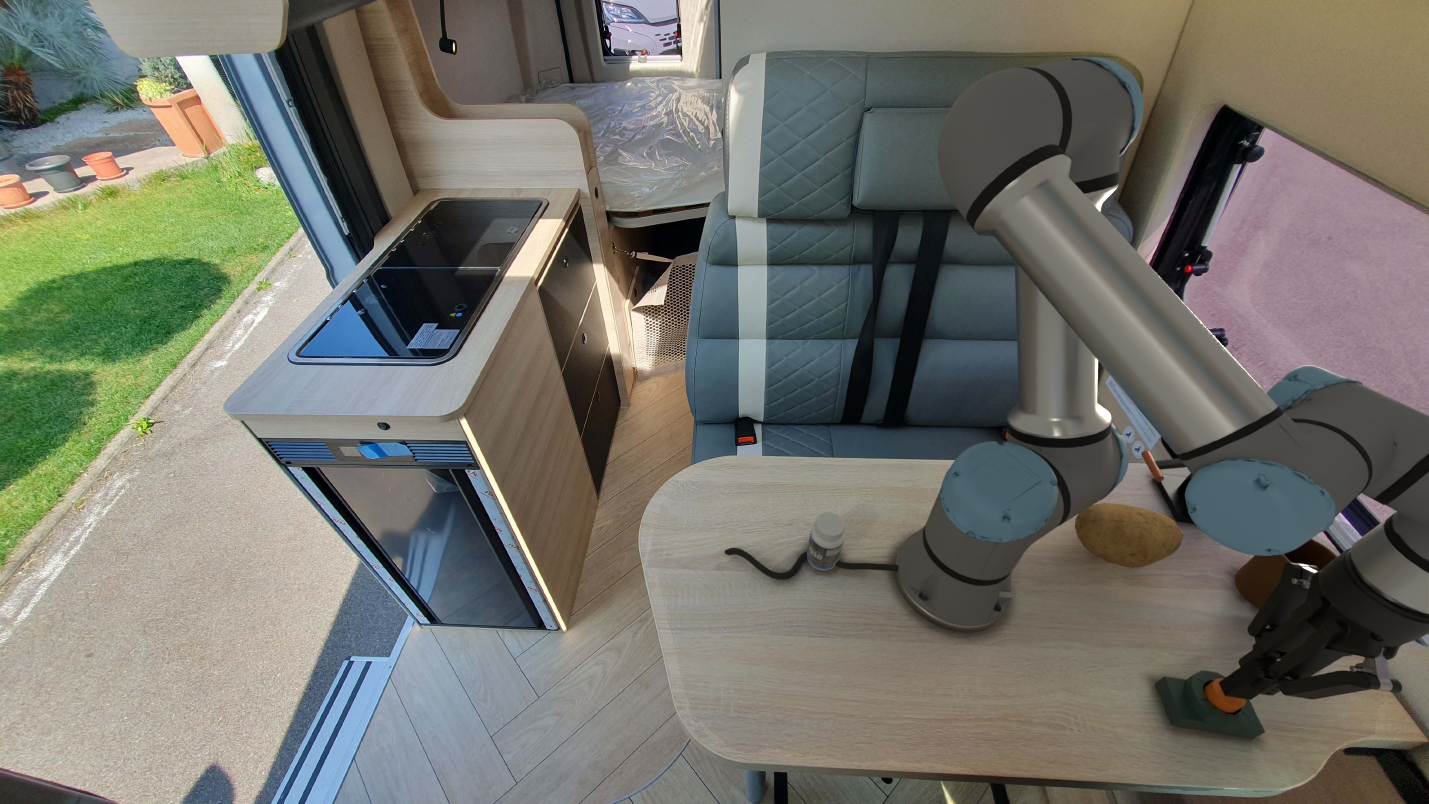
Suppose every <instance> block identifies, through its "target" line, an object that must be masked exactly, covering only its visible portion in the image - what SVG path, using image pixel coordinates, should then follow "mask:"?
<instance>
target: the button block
mask: <svg viewBox="0 0 1429 804" xmlns="http://www.w3.org/2000/svg"><path fill="white" fill-rule="evenodd" d="M1226 677H1227V676H1225V675H1223V674H1221V673H1219V672H1217V671H1211V670H1205V669H1202V670H1199V671H1198V672H1196V673H1193V674H1192V675H1190V676H1189V677H1188V678H1187V679H1186V678H1179V677H1173V676H1166V675H1164V676H1162V677H1161V678H1159V680H1157V681H1156V682H1154V684H1155V687H1156V690H1157V692H1158V695H1159V697H1160V699H1161V702H1162V705H1163V707H1164V710H1165V712H1166V715H1167V717H1168V720H1169V722H1170V724H1171V726H1172V727H1176V728H1183V729H1189V730H1196V731H1202V732H1208V733H1213V734H1221V735H1227V736H1233V737H1240V738H1245V739H1252V740H1254V739H1256V738H1257V737H1260V736H1262V735H1263V734H1265V733H1266V731H1265V729H1264V727H1263V725H1262V722H1261V720H1260V719H1259V717H1258V714H1257V712H1256V711H1255V708H1254V706H1253V703H1252V701H1251V700H1248V699H1246V703H1245V705H1244V706H1243V707H1241V708H1240V709H1238V710H1236V711H1235V712H1233V713H1226V712H1223V711H1221V710H1219V709H1217V708H1216V707H1214V706H1213V705H1212V704H1211V703H1210V702H1209V700H1208V699H1207V697H1206V695H1205V687H1206V686H1207V685H1208V684H1210V683H1211V682H1213V681H1214V680H1216V679H1224V678H1226Z"/></svg>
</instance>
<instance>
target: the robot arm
mask: <svg viewBox="0 0 1429 804" xmlns="http://www.w3.org/2000/svg"><path fill="white" fill-rule="evenodd" d="M1144 107H1145V105H1144V97H1143V92H1142V90H1141V87H1140V84H1139V83H1138V81H1137V79H1136V78H1135V77H1134V75H1133V74H1132V73H1131V72H1130V71H1129V70H1128V69H1127V68H1125V67H1124V66H1123V65H1122V64H1120V63H1119V62H1116V61H1114V60H1111V59H1108V58H1104V57H1087V56H1086V57H1085V56H1073V57H1071V58H1070V57H1069V58H1062V59H1060V60H1055V61H1051V62H1050V61H1049V62H1045V63H1040V64H1035V65H1029V66H1024V67H1012V68H1006V69H1002V70H998V71H995V72H992V73H989V74H987V75H985V76H983V77H981V78H980V79H978V80H977V81H976V82H974V83H973V84H971V85H970V86H968V87H967V89H965V91H964V92H962V93H961V94H960V95H959V96H958V98H957V99H956V100H955V101H954V102H953V104H952V105H951V107H950V109H949V111H948V112H947V114H946V116H945V118H944V120H943V123H942V126H941V129H940V131H939V136H938V143H937V163H938V168H939V173H940V177H941V180H942V182H943V185H944V187H945V190H946V192H947V194H948V196H949V198H950V200H951V201H952V203H953V205H954V206H955V208H956V209H957V210H958V212H959V213H960V214H961V216H962V217H963V219H964V220H965V221H966V222H967V224H968V225H969V227H971V228H972V229H973V231H974V232H975V233H976V234H977V235H978V236H980V237H994V238H995V239H996V241H998V243H999V244H1000V245H1001V246H1002V248H1004V250H1005V251H1006V252H1007V253H1008V254H1009V256H1010V257H1011V258H1012V259H1013V260H1014V287H1015V319H1016V322H1015V323H1016V351H1017V352H1016V353H1017V355H1016V357H1017V386H1018V388H1017V389H1018V402H1017V404H1016V405H1015V406H1013V407H1012V408H1011V409H1010V410H1008V412H1007V414H1006V441H1005V442H1003V444H999V443H998V441H996V440H995V441H990V440H989V441H984V442H979V443H976V444H973V445H971V446H969V447H967V448H966V449H964V450H963V451H962V452H960V454H959V455H957V457H956V458H955V459H954V461H953V463H952V464H951V465H950V468H948V469H947V471H946V472H945V475H944V477H943V479H942V482H941V486H940V490H939V491H938V493H937V496H936V499H935V501H934V503H933V506H932V508H931V510H930V513H929V514H928V517H927V521H926V522H925V525H924V526H922V527H921V528H920V529H919V530H918V531H916V532H914V533H913V534H911V535H910V536H909V537H907V538H906V540H905V541H904V542H903V543H902V545H901V546H900V548H899V550H898V553H897V556H896V558H895V562H894V564H892V563H891V564H890V563H878V562H877V563H876V562H846V561H841V560H838V561H837V563H836V564H835V567H836V568H839V569H843V570H851V571H852V570H853V571H858V570H860V571H862V570H866V571H867V570H868V571H871V570H872V571H884V572H894V576H895V577H894V578H895V582H896V585H897V587H898V590H899V592H900V593H901V595H902V597H903V598H904V599H905V601H906V602H907V603H908V604H909V606H910V607H911V608H912V609H913V610H914V611H915V612H917V614H918V615H920V616H922V617H923V618H924V619H926V620H927V621H929V622H931V623H932V624H934V625H936V626H938V627H941V628H944V629H946V630H949V631H953V632H954V631H955V632H962V633H974V632H979V631H982V630H985V629H988V628H990V627H992V626H993V625H994V624H995V623H997V621H999V620H1000V618H1001V617H1002V616H1003V614H1004V613H1005V611H1006V610H1007V607H1008V605H1009V603H1010V599H1014V597H1015V596H1016V595H1017V592H1015V591H1012V572H1013V571H1014V569H1015V567H1016V566H1017V564H1018V563H1019V562H1020V560H1021V559H1022V558H1023V556H1024V554H1025V553H1026V552H1027V550H1028V549H1029V548H1030V547H1031V546H1033V544H1034V543H1036V542H1037V541H1038V540H1040V539H1042V538H1043V537H1044V536H1046V535H1048V534H1049V533H1051V532H1052V531H1054V530H1055V529H1056V528H1059V527H1060V526H1061V525H1064V524H1065V523H1066V522H1068V521H1069V520H1071V519H1073V518H1074V517H1077V515H1078V514H1079V513H1081V512H1082V511H1084V510H1085V509H1087V508H1088V507H1090V506H1092V505H1095V504H1098V502H1100V501H1102V500H1104V499H1106V498H1107V497H1108V496H1109V495H1110V494H1111V493H1112V492H1113V491H1114V490H1115V489H1116V488H1117V487H1118V485H1120V483H1121V482H1122V481H1123V479H1125V476H1126V474H1127V472H1128V468H1129V463H1130V455H1129V448H1128V445H1127V442H1126V440H1125V438H1124V436H1123V434H1119V433H1118V432H1117V427H1116V425H1115V424H1114V423H1113V422H1112V415H1111V413H1110V412H1109V410H1108V409H1106V408H1105V407H1103V406H1102V405H1101V404H1099V403H1098V378H1099V377H1098V376H1099V375H1098V374H1099V373H1098V372H1099V371H1098V370H1099V364H1100V365H1101V366H1102V367H1103V369H1104V370H1105V371H1106V372H1107V373H1108V374H1109V375H1110V377H1111V378H1112V380H1113V381H1114V382H1115V383H1116V384H1117V385H1118V386H1119V387H1120V389H1121V390H1122V392H1124V394H1125V395H1126V396H1127V397H1128V398H1129V400H1130V401H1131V402H1132V403H1133V404H1134V406H1135V407H1136V408H1137V409H1138V411H1139V412H1140V413H1141V414H1142V415H1143V416H1144V418H1145V419H1146V420H1147V422H1149V423H1150V425H1151V426H1152V427H1153V428H1154V430H1155V431H1156V432H1157V434H1159V436H1160V437H1161V439H1162V440H1164V442H1165V443H1166V444H1167V445H1168V446H1169V448H1170V449H1171V451H1173V452H1174V454H1175V456H1177V458H1178V459H1180V460H1181V461H1182V462H1183V463H1184V465H1185V466H1186V467H1185V468H1186V469H1187V470H1188V471H1189V472H1190V473H1192V475H1193V476H1192V478H1191V481H1190V482H1189V484H1188V485H1187V488H1186V491H1185V499H1186V504H1187V507H1188V513H1189V515H1190V517H1191V519H1192V520H1193V522H1194V523H1195V524H1194V525H1196V527H1197V528H1198V529H1199V530H1200V531H1201V532H1202V533H1203V534H1204V535H1205V536H1207V537H1208V538H1210V539H1211V540H1213V541H1214V542H1216V543H1218V544H1220V545H1221V546H1223V547H1224V548H1228V549H1230V550H1232V551H1235V552H1237V553H1241V554H1242V553H1243V554H1246V555H1252V556H1255V555H1258V556H1271V555H1282V554H1285V553H1288V552H1290V551H1293V550H1295V549H1297V548H1298V547H1300V546H1302V545H1303V544H1304V543H1306V542H1307V541H1309V540H1310V539H1313V538H1314V537H1317V536H1318V535H1319V534H1320V533H1324V532H1326V531H1327V530H1328V529H1329V528H1330V527H1331V526H1332V525H1333V524H1334V522H1335V519H1336V517H1337V516H1339V514H1340V513H1341V512H1342V511H1344V510H1345V508H1347V506H1348V505H1350V504H1351V502H1352V501H1354V500H1355V499H1356V498H1358V497H1359V496H1360V495H1361V494H1362V495H1364V496H1366V497H1368V498H1369V499H1371V500H1373V501H1375V502H1377V503H1379V504H1380V505H1382V506H1386V507H1388V508H1390V509H1392V510H1394V511H1395V512H1394V513H1393V514H1391V515H1390V516H1388V517H1386V518H1385V519H1384V520H1383V521H1382V522H1380V523H1379V524H1378V525H1376V526H1374V528H1373V529H1371V530H1370V531H1368V532H1367V533H1366V534H1364V535H1363V536H1362V537H1360V538H1359V539H1357V540H1356V541H1355V542H1353V544H1352V545H1351V547H1350V548H1347V549H1345V550H1344V551H1343V552H1342V553H1340V554H1339V555H1337V556H1338V557H1336V558H1335V559H1334V560H1333V561H1331V562H1330V563H1329V564H1327V565H1326V566H1325V567H1323V569H1322V570H1321V571H1320V570H1319V568H1318V567H1317V566H1313V565H1305V564H1297V563H1289V562H1288V563H1286V564H1285V565H1284V568H1283V572H1282V576H1281V580H1280V582H1279V583H1278V585H1277V586H1276V588H1275V589H1274V591H1273V592H1272V593H1271V595H1270V596H1269V598H1268V599H1267V600H1266V602H1265V603H1264V605H1263V606H1262V608H1261V609H1258V612H1257V613H1256V614H1255V616H1254V617H1253V618H1252V620H1251V622H1250V623H1249V624H1248V626H1247V629H1246V630H1247V634H1248V635H1249V636H1250V637H1252V638H1253V639H1254V643H1253V645H1252V649H1251V650H1250V651H1248V652H1247V653H1246V654H1244V655H1243V656H1241V657H1240V658H1239V659H1238V662H1237V663H1238V665H1239V666H1240V667H1239V668H1237V669H1235V670H1234V671H1232V672H1231V673H1230V674H1228V675H1227V676H1225V677H1226V678H1224V679H1223V680H1221V681H1220V682H1219V685H1220V687H1221V689H1222V691H1223V693H1224V695H1225V696H1228V697H1235V698H1242V699H1248V700H1250V701H1251V700H1253V699H1254V698H1256V697H1258V696H1259V695H1261V696H1268V697H1270V696H1271V697H1273V696H1275V695H1276V694H1278V693H1281V694H1282V695H1284V696H1287V697H1294V698H1299V699H1306V700H1319V699H1324V698H1329V697H1336V696H1341V695H1346V694H1352V693H1358V692H1365V691H1369V690H1370V691H1371V690H1374V691H1381V692H1389V693H1394V694H1399V693H1401V692H1402V691H1403V684H1402V682H1401V681H1400V680H1398V679H1397V678H1395V677H1390V669H1389V662H1388V661H1390V660H1393V659H1394V658H1395V657H1396V656H1397V654H1398V652H1399V650H1400V648H1401V647H1402V646H1403V645H1405V644H1408V643H1410V642H1414V641H1417V640H1419V639H1421V638H1423V637H1425V636H1426V635H1428V634H1429V414H1426V413H1424V412H1422V411H1419V410H1417V409H1415V408H1414V407H1412V406H1409V405H1407V404H1405V403H1402V402H1400V401H1398V400H1396V399H1394V398H1392V397H1391V396H1388V395H1386V394H1384V393H1382V392H1379V391H1377V390H1375V389H1373V388H1371V387H1369V386H1366V385H1364V383H1363V382H1362V381H1359V380H1357V379H1354V378H1349V377H1345V376H1344V375H1340V374H1338V373H1335V372H1333V371H1330V370H1328V369H1325V368H1323V367H1321V366H1317V365H1311V364H1308V365H1301V366H1298V367H1296V368H1293V369H1292V370H1291V371H1289V372H1288V373H1287V374H1286V375H1285V376H1283V377H1282V378H1281V379H1280V380H1279V381H1277V382H1276V383H1275V384H1274V385H1272V387H1271V388H1270V389H1269V390H1267V392H1266V391H1265V390H1264V389H1263V388H1262V387H1261V386H1260V384H1258V382H1257V381H1256V380H1255V379H1254V378H1253V377H1252V376H1251V374H1249V373H1248V371H1247V370H1246V369H1245V368H1244V367H1243V366H1242V365H1241V364H1240V363H1239V361H1238V360H1237V359H1236V358H1235V357H1234V356H1233V355H1232V354H1231V352H1229V351H1228V349H1227V348H1226V347H1225V346H1224V345H1223V344H1222V343H1221V342H1220V341H1219V339H1217V338H1216V336H1215V335H1214V334H1213V333H1212V332H1211V331H1210V330H1209V329H1208V328H1207V327H1206V325H1205V324H1203V322H1202V321H1201V320H1200V319H1199V318H1198V317H1197V316H1196V314H1194V312H1193V311H1192V310H1191V309H1190V308H1189V307H1188V306H1187V305H1186V304H1185V302H1183V300H1182V299H1181V298H1180V297H1179V296H1178V295H1177V294H1176V292H1175V291H1173V289H1172V288H1171V287H1170V286H1169V285H1168V284H1167V283H1166V282H1165V281H1164V280H1163V278H1162V277H1160V275H1159V274H1158V272H1156V271H1155V270H1154V269H1153V268H1152V266H1151V265H1150V264H1149V263H1148V262H1147V261H1146V259H1144V258H1143V256H1141V254H1140V253H1139V252H1138V251H1137V250H1136V249H1135V248H1134V247H1133V245H1131V244H1130V243H1129V241H1128V240H1127V239H1126V238H1125V237H1124V236H1123V235H1122V234H1121V233H1120V232H1119V231H1118V229H1117V228H1116V227H1115V226H1114V225H1113V224H1112V223H1111V222H1110V220H1109V219H1108V218H1107V217H1106V216H1105V215H1104V213H1102V206H1103V204H1104V202H1105V201H1106V200H1107V199H1108V198H1109V197H1110V196H1111V195H1112V194H1113V193H1114V192H1115V191H1116V190H1117V189H1118V188H1119V183H1120V181H1119V180H1120V177H1119V176H1120V157H1122V156H1123V155H1124V153H1125V152H1126V151H1127V150H1128V149H1129V147H1130V145H1131V144H1132V143H1133V142H1134V141H1135V139H1136V137H1137V135H1138V133H1139V131H1140V128H1141V126H1142V122H1143V118H1144ZM724 554H725V555H727V556H732V555H734V556H735V555H736V556H738V557H741V558H742V559H745V560H746V561H747V562H748V563H749V564H751V565H752V566H753V567H754V568H755V569H756V570H758V571H759V572H760V573H762V574H764V575H765V576H767V577H769V578H771V579H775V580H789V579H790V578H793V577H794V576H795V575H796V574H797V573H798V572H799V571H800V569H801V567H802V565H803V564H804V563H805V561H806V560H807V550H805V551H803V552H802V553H801V554H800V555H799V556H798V558H797V559H796V561H795V562H794V564H793V566H792V567H791V568H790V569H789V570H788V571H785V572H777V571H774V570H772V569H769V568H768V567H766V566H765V565H763V564H762V563H761V562H760V561H759V560H758V559H757V558H755V557H754V556H753V555H752V554H750V553H749V552H747V551H746V550H744V549H742V548H738V547H729V548H727V549H725V550H724ZM1351 656H1357V657H1362V658H1364V660H1363V661H1362V662H1358V663H1356V664H1355V665H1350V666H1349V668H1348V669H1349V670H1344V669H1343V670H1342V669H1341V670H1340V669H1339V670H1334V671H1331V672H1325V673H1321V674H1317V673H1319V672H1320V671H1322V670H1324V669H1325V668H1327V667H1329V666H1331V665H1332V664H1334V663H1335V662H1336V661H1338V660H1340V659H1342V658H1344V657H1351ZM1315 674H1316V675H1315Z"/></svg>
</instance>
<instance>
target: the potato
mask: <svg viewBox="0 0 1429 804" xmlns="http://www.w3.org/2000/svg"><path fill="white" fill-rule="evenodd" d="M1074 529H1075V532H1076V535H1077V538H1078V540H1079V542H1081V544H1082V546H1083V547H1084V548H1085V549H1086V550H1087V551H1088V552H1089V553H1091V554H1092V555H1093V556H1095V558H1098V559H1100V560H1102V561H1104V562H1106V563H1109V564H1112V565H1115V566H1120V567H1124V568H1130V569H1136V568H1142V567H1147V566H1150V565H1153V564H1155V563H1158V562H1160V561H1161V560H1163V559H1166V558H1167V557H1170V556H1172V555H1173V554H1174V553H1175V552H1176V551H1178V550H1179V549H1180V547H1181V545H1182V542H1183V538H1184V533H1183V531H1182V530H1181V528H1180V526H1179V525H1178V524H1177V522H1176V520H1175V519H1172V518H1170V517H1168V516H1166V515H1164V514H1162V513H1160V512H1158V511H1154V510H1151V509H1150V510H1149V509H1145V508H1141V507H1137V506H1133V505H1127V504H1121V503H1120V504H1119V503H1109V502H1101V503H1095V504H1093V505H1092V506H1090V507H1088V508H1087V509H1085V510H1084V511H1082V512H1081V513H1079V514H1077V515H1076V516H1075V521H1074Z"/></svg>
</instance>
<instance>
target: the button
mask: <svg viewBox="0 0 1429 804" xmlns="http://www.w3.org/2000/svg"><path fill="white" fill-rule="evenodd" d="M1221 680H1223V679H1216V680H1214V681H1213V682H1211V683H1210V684H1208V685H1207V686H1206V687H1205V695H1206V697H1207V699H1208V700H1209V702H1210V703H1211V704H1212V705H1213V706H1214V707H1216V708H1217V709H1219V710H1221V711H1223V712H1226V713H1233V712H1235V711H1236V710H1238V709H1240V708H1241V707H1243V706H1244V705H1245V703H1246V699H1242V698H1235V697H1228V696H1225V695H1224V693H1223V691H1222V689H1221V687H1220V685H1219V682H1220V681H1221Z"/></svg>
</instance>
